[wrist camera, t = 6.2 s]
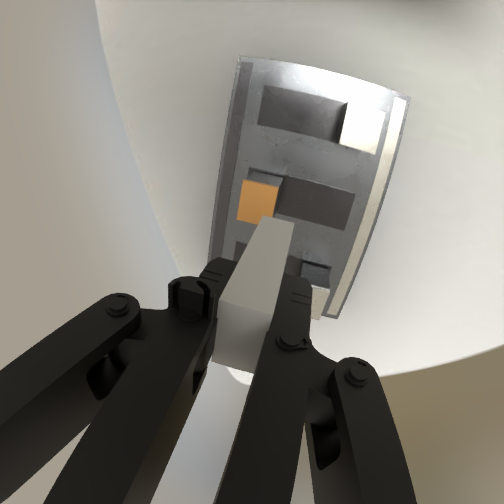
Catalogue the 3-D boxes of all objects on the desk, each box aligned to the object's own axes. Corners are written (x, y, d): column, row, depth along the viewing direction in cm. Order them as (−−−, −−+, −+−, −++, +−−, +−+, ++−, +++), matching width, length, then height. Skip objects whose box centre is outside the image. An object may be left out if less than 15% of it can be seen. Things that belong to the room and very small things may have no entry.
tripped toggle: (253, 170, 23) (243, 180, 19) (283, 177, 22) (278, 188, 19) (247, 204, 24) (236, 219, 21) (276, 211, 24) (269, 227, 21)
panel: (244, 60, 20) (224, 44, 15) (403, 98, 19) (428, 93, 14) (211, 274, 31) (190, 307, 26) (336, 307, 29) (338, 346, 24)
